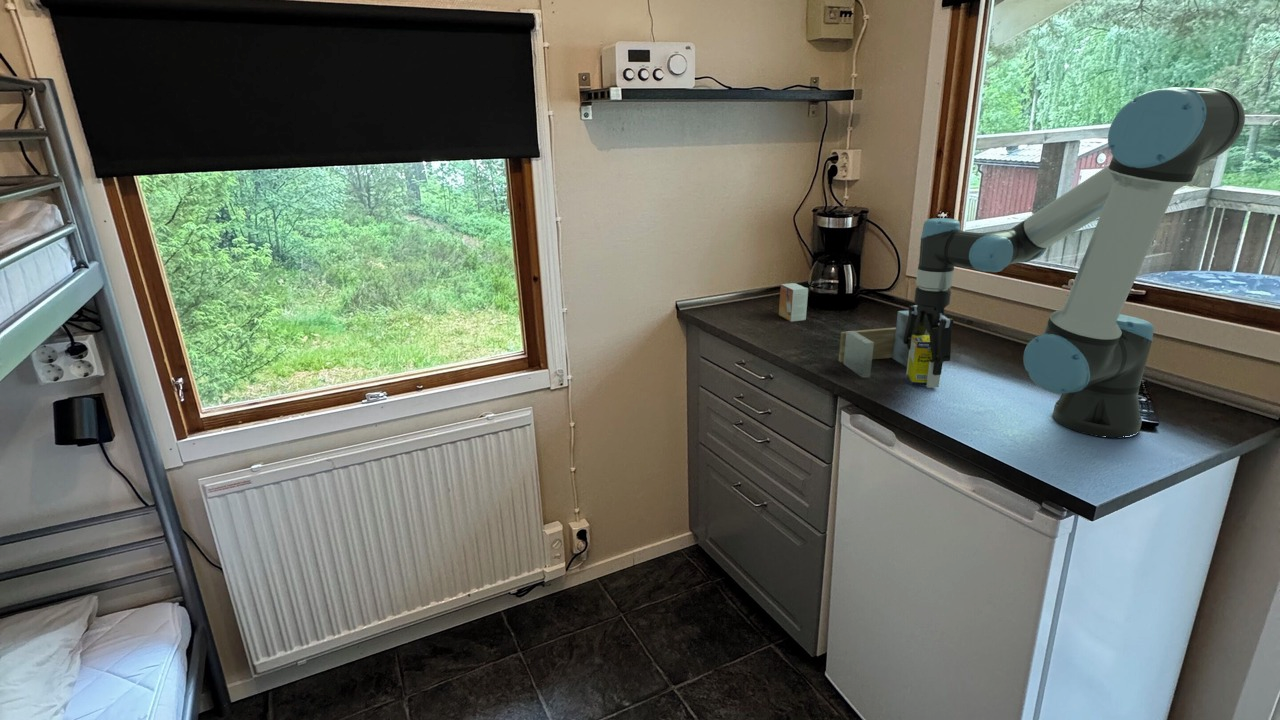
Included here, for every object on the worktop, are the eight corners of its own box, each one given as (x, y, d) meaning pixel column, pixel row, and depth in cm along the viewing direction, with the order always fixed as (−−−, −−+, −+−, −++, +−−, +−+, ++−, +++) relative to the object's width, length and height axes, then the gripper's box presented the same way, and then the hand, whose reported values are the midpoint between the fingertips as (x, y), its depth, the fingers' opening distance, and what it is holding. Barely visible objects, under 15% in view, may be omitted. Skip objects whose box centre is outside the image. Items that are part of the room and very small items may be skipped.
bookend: (870, 377, 164) (873, 342, 161) (862, 377, 163) (866, 343, 160) (850, 363, 173) (853, 330, 170) (843, 364, 173) (846, 331, 170)
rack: (934, 372, 166) (941, 322, 161) (864, 379, 163) (870, 328, 158) (903, 354, 178) (909, 308, 174) (838, 360, 175) (842, 313, 171)
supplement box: (937, 386, 156) (943, 342, 152) (911, 385, 157) (916, 341, 153) (932, 377, 161) (938, 334, 158) (906, 376, 162) (911, 334, 159)
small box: (778, 315, 216) (780, 284, 213) (793, 313, 218) (795, 282, 214) (790, 322, 209) (792, 289, 206) (806, 320, 211) (808, 288, 207)
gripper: (977, 296, 142) (963, 394, 150) (921, 277, 161) (911, 365, 169) (946, 299, 141) (933, 397, 149) (893, 279, 160) (884, 367, 168)
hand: (922, 380), depth 159 cm, fingers closed on supplement box, 8 cm apart
